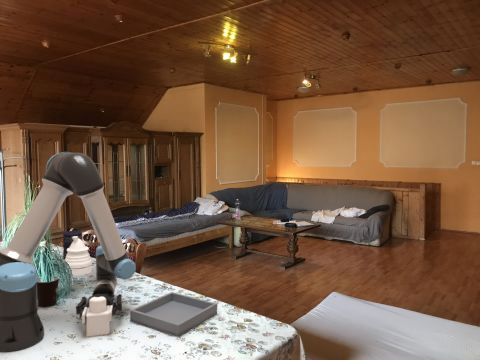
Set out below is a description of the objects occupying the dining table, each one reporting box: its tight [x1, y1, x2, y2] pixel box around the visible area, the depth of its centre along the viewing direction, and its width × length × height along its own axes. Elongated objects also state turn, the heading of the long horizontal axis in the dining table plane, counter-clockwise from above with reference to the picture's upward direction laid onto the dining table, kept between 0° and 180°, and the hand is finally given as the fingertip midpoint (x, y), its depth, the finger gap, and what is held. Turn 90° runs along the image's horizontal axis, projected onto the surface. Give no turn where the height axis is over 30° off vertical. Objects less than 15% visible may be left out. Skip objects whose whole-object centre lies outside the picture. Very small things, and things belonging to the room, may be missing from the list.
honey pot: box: [65, 236, 93, 277], centre depth 194 cm, size 13×13×18 cm
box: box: [129, 291, 218, 338], centre depth 143 cm, size 22×22×4 cm
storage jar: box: [62, 230, 83, 259], centre depth 217 cm, size 10×10×15 cm
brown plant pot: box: [37, 275, 60, 308], centre depth 155 cm, size 12×9×10 cm
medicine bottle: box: [85, 294, 111, 338], centre depth 131 cm, size 7×7×12 cm
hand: (96, 318), depth 127 cm, fingers closed on medicine bottle, 7 cm apart
